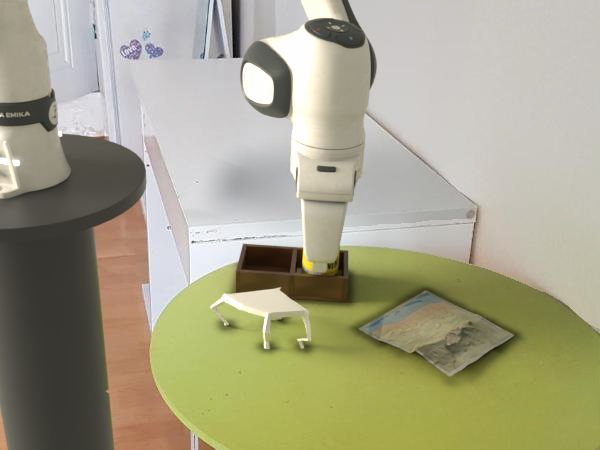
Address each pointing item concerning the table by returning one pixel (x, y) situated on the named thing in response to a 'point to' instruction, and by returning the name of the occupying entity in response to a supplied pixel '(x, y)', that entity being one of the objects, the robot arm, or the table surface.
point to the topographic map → (437, 332)
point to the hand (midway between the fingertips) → (320, 257)
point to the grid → (288, 274)
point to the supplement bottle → (308, 269)
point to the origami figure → (266, 309)
